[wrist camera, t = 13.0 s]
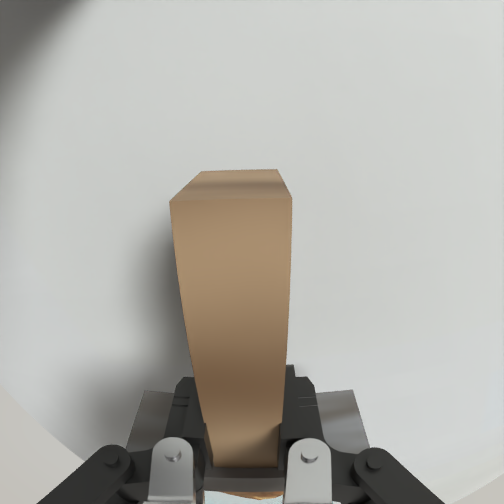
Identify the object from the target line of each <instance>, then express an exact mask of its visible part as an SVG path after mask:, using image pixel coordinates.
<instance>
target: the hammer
mask: <svg viewBox="0 0 504 504" xmlns="http://www.w3.org/2000/svg"><path fill="white" fill-rule="evenodd" d="M169 203H170V213H171V223H172V233H173V241H174V250H175V258H176V266H177V274H178V281H179V288H180V295H181V302H182V309H183V315H184V321H185V327H186V333H187V339H188V345H189V351H190V356H191V362H192V367H193V372H194V377H195V383H196V388H197V392H198V397H199V402H200V407H201V411H202V416H203V420H204V423H206V425H207V430H208V434H209V438H210V443H211V447H212V451H213V455H214V457H213V467H212V470H210V469H205V474H204V490H205V491H221V492H280V491H283V490H284V482H285V478H284V470H278V464H277V451H278V439H279V426H280V423H282V413H283V400H284V386H285V371H286V355H287V337H288V318H289V295H290V269H291V234H292V197H291V195H290V193H289V191H288V189H287V187H286V185H285V183H284V181H283V179H282V177H281V175H280V174H279V172H278V170H277V169H270V170H225V171H201V172H200V173H199V174H198V175H197V176H196V177H195V178H194V179H193V180H191V181H190V182H189V183H188V184H187V185H186V186H185V187H184V188H183V189H182V190H181V191H180V192H179V193H178V194H177V195H175V196H174V197H173V198H172V199H171V200H170V201H169ZM173 398H174V393H164V392H153V391H145V392H144V395H143V398H142V401H141V404H140V406H139V409H138V412H137V415H136V418H135V421H134V424H133V427H132V431H131V434H130V437H129V440H128V443H127V446H126V450H127V451H128V452H137V451H144V450H149V449H151V448H153V447H154V446H155V445H156V444H157V443H158V442H159V441H161V440H162V439H163V437H164V434H165V429H166V425H167V421H168V417H169V413H170V409H171V406H172V401H173ZM316 398H317V404H318V409H319V414H320V419H321V425H322V430H323V436H324V439H325V441H326V442H327V444H328V445H329V446H330V447H332V448H333V449H335V450H337V451H341V452H346V453H353V454H359V453H360V452H361V451H363V450H365V449H367V448H370V446H369V443H368V439H367V436H366V432H365V429H364V426H363V422H362V419H361V416H360V412H359V409H358V406H357V402H356V399H355V396H354V393H353V390H344V391H334V392H323V393H316Z"/></svg>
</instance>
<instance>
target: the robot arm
mask: <svg viewBox="0 0 504 504" xmlns="http://www.w3.org/2000/svg"><path fill="white" fill-rule="evenodd" d="M213 457H214V455H213V451H212V447H211V443H210V438H209V434H208V430H207V425H206V423H204V420H203V416H202V411H201V407H200V402H199V397H198V392H197V388H196V383H195V377H183V379H182V380H181V381H180V382H179V383H178V384H177V386H176V389H175V393H174V398H173V401H172V406H171V409H170V413H169V417H168V421H167V425H166V429H165V434H164V437H163V439H162V440H161V441H159V442H158V443H157V444H156V445H155V446H154V447H153V448H151V449H149V450H144V451H137V452H128V451H127V450H126V449H125V448H123V447H121V446H118V445H106V446H104V447H102V448H100V449H99V450H98V451H97V452H96V453H94V454H93V455H92V456H91V457H90V458H89V459H88V460H87V461H85V462H84V463H83V464H82V465H81V466H80V467H79V468H78V469H76V471H74V472H73V473H72V474H71V475H70V476H68V477H67V478H66V479H65V480H64V481H63V482H62V483H61V484H59V485H58V486H57V487H56V488H55V489H53V490H52V491H51V492H50V493H49V494H48V495H46V496H45V497H44V498H43V499H42V500H41V501H39V502H38V503H37V504H205V496H204V474H205V469H210V470H212V467H213ZM277 464H278V470H284V478H285V482H284V490H283V501H282V504H332V501H336V502H341V504H445V503H444V502H442V501H441V500H440V499H439V498H438V497H437V496H436V495H435V494H433V493H432V492H431V491H430V490H429V489H428V488H427V487H426V486H424V485H423V484H422V483H421V482H420V481H419V480H418V479H417V478H416V477H414V476H413V475H412V474H411V473H410V472H409V471H408V470H407V469H406V468H405V467H404V466H402V465H401V464H400V463H399V462H398V461H397V460H396V459H395V458H394V457H393V456H392V455H391V454H390V453H388V452H387V451H386V450H384V449H381V448H367V449H365V450H363V451H361V452H360V453H359V454H353V453H346V452H341V451H337V450H335V449H333V448H332V447H330V446H329V445H328V444H327V442H326V441H325V439H324V436H323V430H322V425H321V419H320V414H319V409H318V404H317V398H316V393H315V388H314V385H313V384H312V382H311V381H310V380H309V379H308V377H295V371H294V365H286V371H285V386H284V400H283V413H282V423H280V426H279V439H278V451H277Z"/></svg>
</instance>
